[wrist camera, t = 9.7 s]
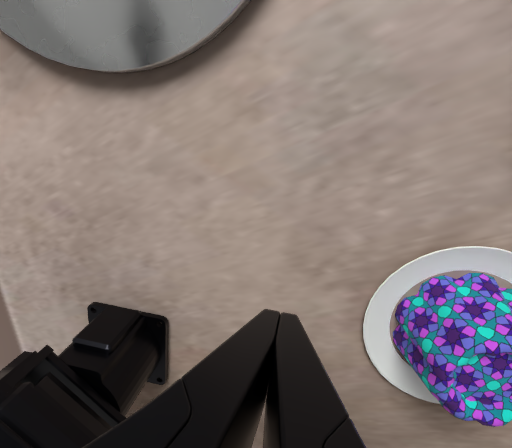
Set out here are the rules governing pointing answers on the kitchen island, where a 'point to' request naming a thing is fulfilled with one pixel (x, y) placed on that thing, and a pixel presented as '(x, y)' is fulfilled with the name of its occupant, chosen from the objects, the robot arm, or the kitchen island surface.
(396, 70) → the kitchen island surface
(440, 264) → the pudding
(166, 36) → the base
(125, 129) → the kitchen island surface
